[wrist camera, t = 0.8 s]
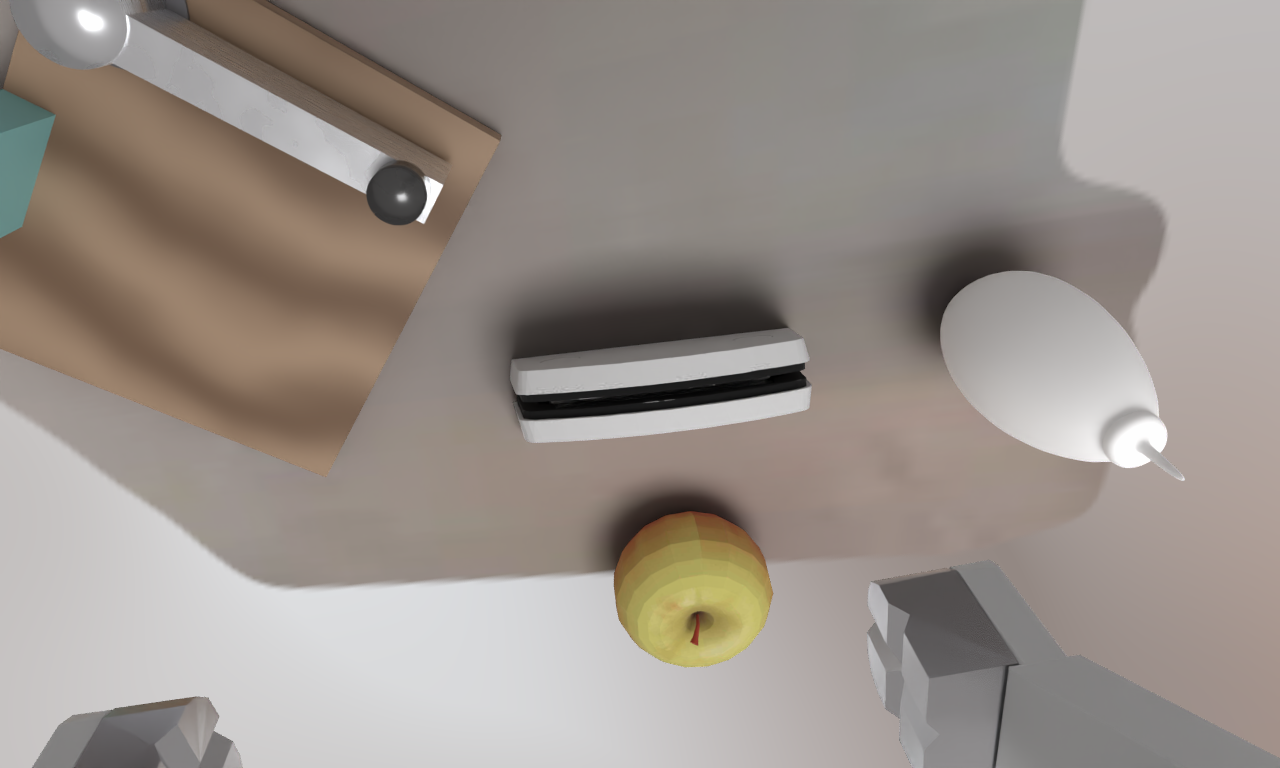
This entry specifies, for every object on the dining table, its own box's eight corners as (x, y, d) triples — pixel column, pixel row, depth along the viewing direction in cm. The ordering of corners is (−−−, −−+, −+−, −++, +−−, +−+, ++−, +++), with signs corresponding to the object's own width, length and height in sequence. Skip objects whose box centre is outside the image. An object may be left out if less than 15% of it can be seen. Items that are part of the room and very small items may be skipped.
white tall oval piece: (1009, 218, 46) (1252, 356, 30) (1058, 319, 50) (1301, 491, 34) (888, 297, 48) (1060, 468, 32) (944, 390, 51) (1124, 587, 35)
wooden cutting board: (75, -109, 35) (53, -112, 33) (501, 135, 41) (499, 142, 40) (-43, 312, 43) (-66, 326, 41) (331, 463, 49) (324, 480, 47)
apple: (602, 603, 56) (610, 696, 49) (617, 485, 52) (628, 568, 45) (741, 606, 58) (769, 697, 51) (767, 491, 53) (801, 573, 46)
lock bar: (55, 25, 35) (-25, 36, 30) (81, -66, 34) (1, -70, 29) (425, 218, 41) (409, 254, 36) (461, 146, 39) (449, 174, 34)
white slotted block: (519, 434, 49) (504, 475, 40) (509, 356, 49) (491, 378, 39) (792, 402, 50) (844, 434, 40) (786, 325, 50) (837, 338, 40)
